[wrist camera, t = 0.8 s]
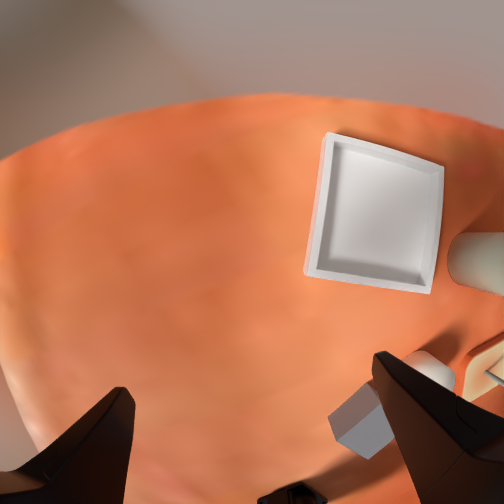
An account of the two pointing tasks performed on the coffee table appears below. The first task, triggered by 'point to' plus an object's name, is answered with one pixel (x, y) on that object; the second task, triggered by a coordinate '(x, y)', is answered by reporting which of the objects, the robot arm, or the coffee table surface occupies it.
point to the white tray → (375, 216)
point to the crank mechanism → (481, 369)
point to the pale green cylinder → (478, 261)
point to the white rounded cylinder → (431, 368)
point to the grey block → (362, 423)
